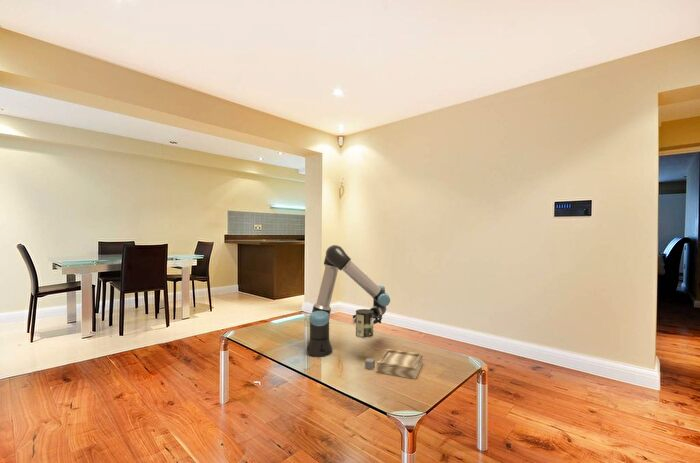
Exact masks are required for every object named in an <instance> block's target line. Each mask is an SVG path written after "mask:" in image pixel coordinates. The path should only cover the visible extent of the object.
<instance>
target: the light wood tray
mask: <svg viewBox="0 0 700 463" xmlns="http://www.w3.org/2000/svg"><path fill="white" fill-rule="evenodd" d="M422 365H423V353H420V352H419V353H418V352H412V351H404V350H398V349H392V348H386V350H385V351H384V352H383V354H381V356H380V357H379V358H378V360H377V361H376V373H380V374H386V375H391V376H394V377H403V378H408V379H414V380H416V379H417V377H418V375H419V372H420V371H421V369H422V367H423V366H422Z"/></svg>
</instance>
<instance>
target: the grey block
mask: <svg viewBox="0 0 700 463" xmlns="http://www.w3.org/2000/svg"><path fill="white" fill-rule="evenodd" d="M375 360H376V359H374V358H369V357H368V358H366V359H365V360H364V369H367V370H374V368H375V366H376V364H375Z"/></svg>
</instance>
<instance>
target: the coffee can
mask: <svg viewBox="0 0 700 463" xmlns="http://www.w3.org/2000/svg"><path fill="white" fill-rule="evenodd" d="M369 309H370V308H369ZM369 309H368V308H361V309H360V308H359V309H356V310H355V315H356V323H355V337H357V338H359V339H372V338H373V337H374V325H373V326H370V323H371V321H372V320H373V313H374V311H373V310H369Z"/></svg>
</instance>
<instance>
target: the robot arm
mask: <svg viewBox="0 0 700 463" xmlns="http://www.w3.org/2000/svg"><path fill="white" fill-rule="evenodd" d="M323 265H324V271H323V274H322V275H323V276H322V279H321V283H320V288H319V293H318V295H317V299H316V302H315V303H314V304H313V306H312V311H311V313H310V314H309V341H308V344H307V348H306V354H307V353H308V354H309V356H310V355H312V356H311V357H315V356H322V357H327V356H329V355H331V354H332V353H333V347H332V344H331V340H330V316H331V312H332V308H331V301H332V297H333V293H334V289H335V285H336V280H337V277H338V273H339V271H343V272H344V273H345V274H346V275H347V276H348V277H349V278H350V279H352V280H353V281H354V282H355V283H356V284H357V285H358V286H360V288H361V289H362V290H363V291H365V292H366V293H367V294H368V296H370V297H371V298H372V299H373V300H372V302H373V303H372V306H373V307H371V308H369V310H373V311H374V313H373V320H372V321H371V323H370V326H373V327H374V326H375V325H376V324H382V320H383V315H385V313H386V312H387V306H388V305H389V304H390V303H391V297H390V296H389V294H387V293H386V288H385V286H384V285H377V284H376V283H375V282H374V280H372V279H371V278H370V277H369V276H368V275H367V274H365V272H363V271H362V270H361V269H360V268H359V267H358V266H357V265H356V264H355V263H354V261H352V258H351V257H350V256H349V255H348V254H347V253H346V251H345V250H344V249H343V248H342V246H339V245H338V244H337V245H336V244H333V245H329V247H328V248H327V249H326V251H325V257H324V261H323ZM352 325H356V314H354V315H353V314H352ZM308 354H307V355H308ZM326 355H327V356H326Z"/></svg>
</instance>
